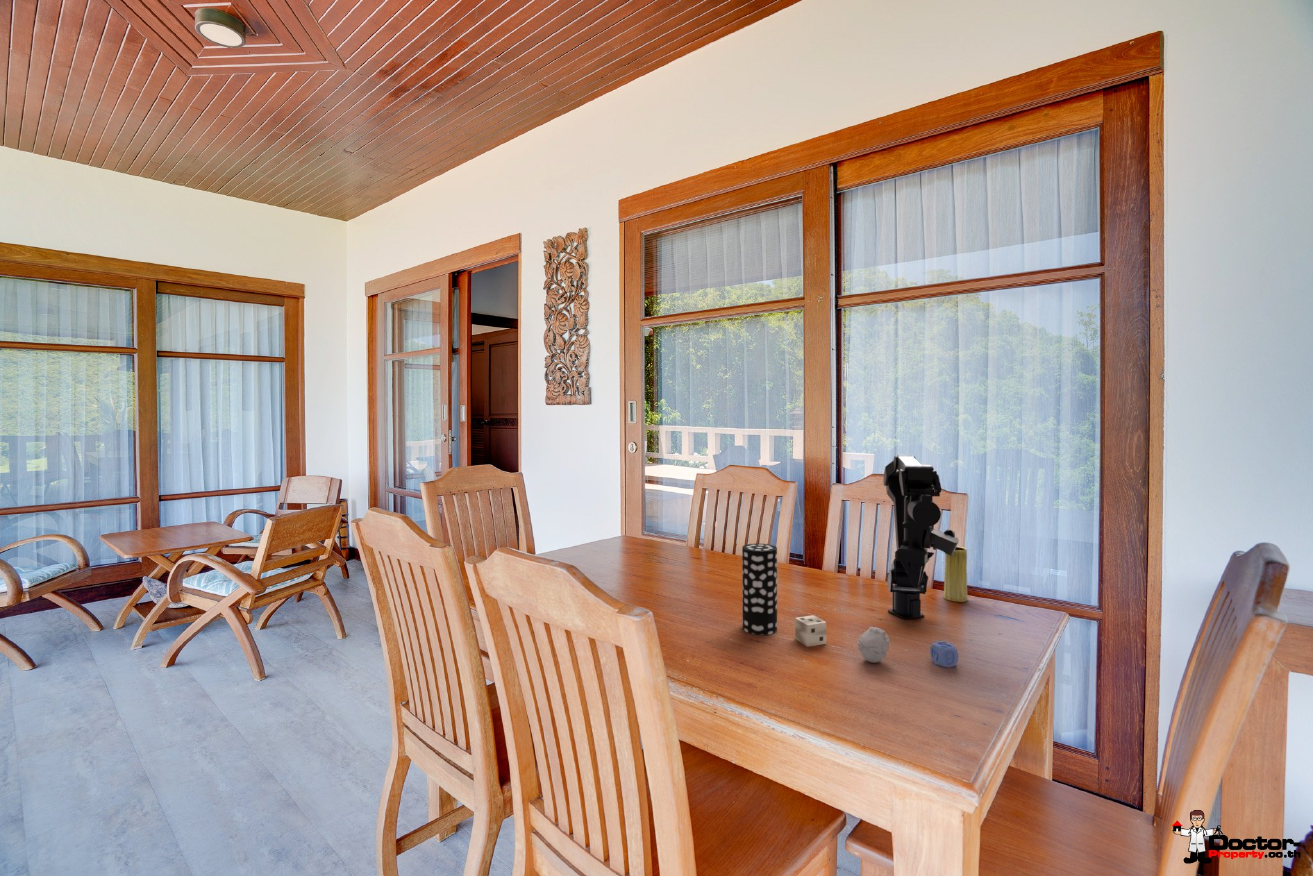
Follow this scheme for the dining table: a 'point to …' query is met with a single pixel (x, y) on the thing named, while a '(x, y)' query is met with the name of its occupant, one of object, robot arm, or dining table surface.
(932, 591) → the dining table surface
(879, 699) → the dining table surface
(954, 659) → the decorative dice
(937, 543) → the robot arm
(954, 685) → the dining table surface
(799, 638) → the birch pip block
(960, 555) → the vase
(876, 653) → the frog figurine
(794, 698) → the dining table surface
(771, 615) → the white-spotted black cylinder
